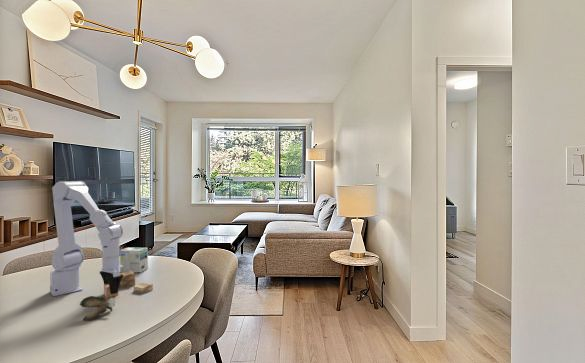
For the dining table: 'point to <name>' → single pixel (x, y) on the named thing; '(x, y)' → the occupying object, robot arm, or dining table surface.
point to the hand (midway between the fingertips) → (111, 290)
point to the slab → (143, 287)
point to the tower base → (127, 283)
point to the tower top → (128, 276)
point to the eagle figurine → (97, 305)
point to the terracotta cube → (107, 291)
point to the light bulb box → (134, 259)
